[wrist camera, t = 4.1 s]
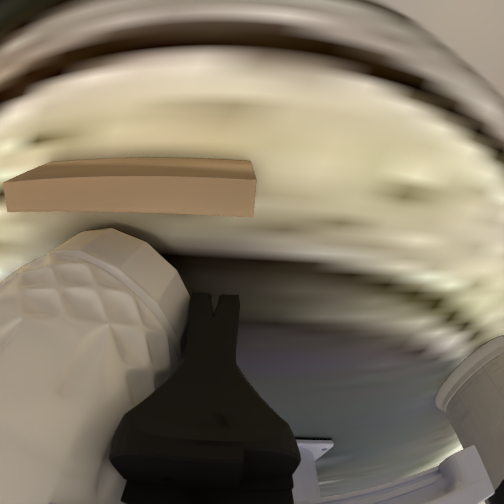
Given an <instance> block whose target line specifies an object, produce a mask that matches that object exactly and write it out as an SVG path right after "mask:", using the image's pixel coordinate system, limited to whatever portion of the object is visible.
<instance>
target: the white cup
mask: <svg viewBox="0 0 504 504" xmlns="http://www.w3.org/2000/svg"><path fill="white" fill-rule="evenodd" d="M190 298H191V297H190V295H189V293H188V291H187V289H186V287H185V285H184V283H183V281H182V279H181V277H180V275H179V273H178V271H177V270H176V269H175V268H174V267H173V266H172V265H171V264H170V263H168V262H167V261H166V260H165V259H164V258H163V257H162V256H161V255H160V254H159V253H158V252H157V251H156V250H155V249H153V248H152V247H151V246H150V245H149V244H148V243H147V242H145V241H143V240H140V239H138V238H135V237H133V236H130V235H127V234H125V233H122V232H120V231H118V230H115V229H113V228H108V229H99V230H91V231H83V232H80V233H78V234H77V235H75V236H74V237H72V238H70V239H69V240H67V241H66V242H64V243H63V244H61V245H59V246H58V247H56V248H55V249H53V250H52V251H50V252H49V253H47V254H46V255H45V256H43V257H41V258H38V259H36V260H34V261H32V262H30V263H28V264H26V265H24V266H22V267H21V268H19V269H18V270H16V271H15V272H13V273H12V274H11V275H9V276H8V277H7V278H6V279H4V280H3V281H2V282H1V283H0V504H48V503H50V502H52V503H56V504H125V503H124V502H122V501H120V500H121V497H122V494H123V491H124V488H125V485H126V481H127V480H125V479H124V478H123V477H122V476H121V475H120V474H119V473H118V471H117V470H116V469H115V468H114V466H113V465H112V464H111V462H110V460H109V455H110V450H111V445H112V441H113V437H114V435H115V432H116V430H117V427H118V425H119V423H120V421H121V419H122V417H123V416H124V414H125V413H127V412H128V411H129V410H131V409H132V408H134V407H135V406H136V405H138V404H139V403H140V402H142V401H143V400H145V399H146V398H147V397H148V396H149V395H151V394H152V393H153V392H154V391H155V390H156V389H157V388H158V387H160V386H161V385H162V384H163V383H164V382H165V381H166V380H167V379H168V378H169V377H170V376H171V375H172V374H173V373H174V372H175V371H176V369H177V368H178V367H179V366H180V365H181V364H182V363H183V361H184V356H185V351H186V346H187V333H188V314H189V302H190Z"/></svg>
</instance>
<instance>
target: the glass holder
mask: <svg viewBox="0 0 504 504" xmlns="http://www.w3.org/2000/svg"><path fill="white" fill-rule="evenodd" d="M435 405H436V406H437V407H438V408H439V409H441V410H443V411H444V412H445V414H447V416H448V418H449V420H450V422H451V424H452V426H453V428H454V430H455V432H456V434H457V436H458V438H459V440H460V442H461V445H462V447H463V449H465V448H467V447H470V446H472V445H475V447H476V449H477V451H478V453H479V456H480V458H481V460H482V462H483V465H484V467H485V469H486V471H487V474H488V476H489V479H490V481H491V483H492V486H493V488H494V491H495V492H494V494H493V495H492V496H490V497H489V498H487V499H486V500H485V503H486V504H504V336H499V337H497V338H494V339H492V340H491V341H489V342H487V343H486V344H484V345H483V346H481V347H480V348H478V349H477V350H476V351H474V352H473V353H472V354H471V355H470V356H468V357H467V358H466V359H465V360H464V361H463V362H462V363H461V364H460V365H459V366H458V367H457V368H456V369H455V370H454V371H453V372H452V373H451V374H450V375H449V377H448V378H447V379H446V380H445V381H444V383H443V384H442V386H441V387H440V389H439V390H438V392H437V394H436V397H435Z"/></svg>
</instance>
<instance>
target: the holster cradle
mask: <svg viewBox="0 0 504 504" xmlns="http://www.w3.org/2000/svg"><path fill="white" fill-rule="evenodd" d="M3 185H4V192H5V199H6V206H7V212H47V211H77V212H139V213H171V214H197V215H218V216H237V217H253V213H254V202H255V191H256V177H255V174H254V171H253V168H252V164H251V161H243V160H226V159H203V158H111V159H89V160H73V161H60V162H49V163H46V164H44V165H42V166H39V167H37V168H34V169H32V170H30V171H27V172H25V173H23V174H21V175H18V176H16V177H14V178H12V179H10V180H8V181H6V182H3Z"/></svg>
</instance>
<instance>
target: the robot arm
mask: <svg viewBox="0 0 504 504" xmlns="http://www.w3.org/2000/svg"><path fill="white" fill-rule="evenodd" d="M211 298H212V296H211V295H210V294H209V293H192V295H191V298H190V302H189V314H188V333H187V346H186V351H185V356H184V361H183V363H182V364H181V365H180V366H179V367H178V368H177V369H176V371H175V372H174V373H173V374H172V375H171V376H170V377H169V378H168V379H167V380H166V381H165V382H164V383H163V384H162V385H161V386H160V387H158V388H157V389H156V390H155V391H154V392H153V393H152V394H151V395H149V396H148V397H147V398H146V399H145V400H143V401H142V402H140V403H139V404H138V405H136V406H135V407H134V408H132V409H131V410H129V411H128V412H127V413H125V414H124V416H123V417H122V419H121V421H120V423H119V425H118V427H117V430H116V432H115V435H114V437H113V441H112V445H111V450H110V455H109V460H110V462H111V464H112V465H113V466H114V468H115V469H116V470H117V471H118V473H119V474H120V475H121V476H122V477H123V478H124V479H125V480H127V481H126V485H125V488H124V491H123V494H122V497H121V500H120V501H122V502H124V503H125V504H479V503H481V502H483V501H484V500H486V499H487V498H489V497H490V496H492V495H493V494H494V492H495V491H494V488H493V486H492V483H491V481H490V479H489V476H488V474H487V471H486V469H485V467H484V465H483V462H482V460H481V458H480V456H479V453H478V451H477V449H476V447H475V445H472V446H470V447H467V448H465V449H463V450H461V451H459V452H457V453H455V454H453V455H451V456H449V457H448V458H446V459H445V460H444V461H443V462H441V463H440V465H439V466H436V467H434V468H431V469H429V470H426V471H423V472H421V473H418V474H415V475H412V476H409V477H406V478H403V479H400V480H397V481H394V482H390V483H387V484H383V485H380V486H376V487H372V488H368V489H364V490H360V491H356V492H351V493H346V494H341V495H336V496H330V497H324V498H322V497H321V492H320V487H319V482H318V477H317V472H316V467H315V462H314V461H316V460H317V459H318V458H319V457H321V456H322V455H323V454H324V453H326V452H327V451H328V450H329V449H330V448H332V447H333V446H334V443H333V441H332V440H296V439H295V437H294V435H293V433H292V431H291V429H290V427H289V425H288V423H286V422H285V421H284V420H283V419H282V418H281V417H280V416H279V415H278V414H277V413H276V412H274V411H273V410H272V409H271V408H270V407H269V406H268V404H267V403H266V402H265V401H264V400H263V399H262V398H261V397H260V396H259V395H258V393H257V392H256V391H255V390H254V388H253V387H252V386H251V385H250V383H249V382H248V381H247V379H246V378H245V377H244V375H243V374H242V372H241V371H240V369H239V368H238V366H237V365H236V344H237V333H238V321H239V310H240V302H239V295H227V294H222V295H221V296H220V297H219V301H218V304H217V307H216V310H215V312H214V313H213V308H212V302H211ZM48 504H56V503H52V502H50V503H48Z"/></svg>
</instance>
